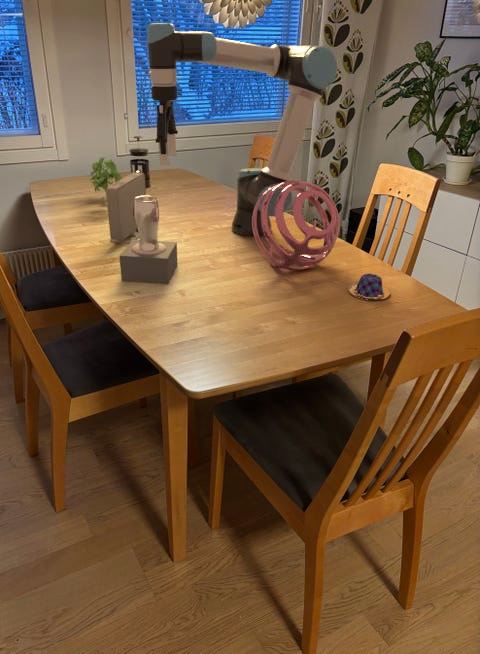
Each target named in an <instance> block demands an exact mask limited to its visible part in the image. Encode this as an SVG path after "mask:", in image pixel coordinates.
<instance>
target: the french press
mask: <svg viewBox="0 0 480 654" xmlns="http://www.w3.org/2000/svg"><path fill="white" fill-rule="evenodd" d="M133 139H136V141H137V147H138V148H131V149H129V150H128V151H129V152H130V156H131V157H138V158H134V159H130V160H129V164H130V174H132V173H133V172H134V173H144V175H145V189H147V188H150V187H151V177H150V160H149V159H147V158H140V157H146V156H148V154H149V149H147V148H140V144H139V141H140V139H143V136H140V135H138V136H133ZM133 166H134V167H133ZM138 166H139V167H138ZM133 168H134V171H133ZM139 168H141V169H139Z"/></svg>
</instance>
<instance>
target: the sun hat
mask: <svg viewBox="0 0 480 654" xmlns="http://www.w3.org/2000/svg"><path fill="white" fill-rule="evenodd" d="M355 285H357V287H356V289H355V291H357V293H358V294H360V295H363V296H365V297H378V295H382V294H383V288H382V287H383V279H382V277H381V276H379V275H377V274H374V273H373V274H372V273H364V274H363V275H362V276H360V278H359V280H358V282H357V283H353V284H351V285H350V286H349V287H348V292H349V293H350V294H351V295H352V296H354V297H357V296H355V295H354V294H353V293H351V291H350V289H351V288H352V286H355ZM357 293H356V294H357ZM383 295H384V294H383ZM363 296H362V297H363ZM360 297H361V296H360ZM360 297H357V298H358V299H362V300H364V299H363V298H364V297H363V298H360ZM378 298H379V297H378ZM368 299H369V298H368ZM368 299H366V301H367V300H368ZM368 301H369V300H368Z"/></svg>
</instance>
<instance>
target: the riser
mask: <svg viewBox="0 0 480 654" xmlns="http://www.w3.org/2000/svg"><path fill="white" fill-rule="evenodd" d="M131 240H132V239H131ZM131 240H130V241H131ZM158 243H159V250H157V251H155V252H142V251H140V250H139V239H137V240H132V241H131V242H130V243H129V244H128V245H127V246H126V247H125V248H124V249H123V251H122V252H121V253H120V254H119V265H120V266H119V267H120V276H121V282H131V283H143V284H145V283H147V284H161V285H162V284H163V285H169V283H170V281H171V279H172V278H173V276H174V274H175V271H177V268H178V245H177V244H178V243H177V241H166V240H165V241H162V240H158Z"/></svg>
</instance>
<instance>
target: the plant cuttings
mask: <svg viewBox="0 0 480 654" xmlns="http://www.w3.org/2000/svg"><path fill="white" fill-rule="evenodd" d="M91 166H92V172H90V176H92V177H91V178H90V179H89V181H90V182H91V183H92V184H93V187H94V191H95V194H96V193H97V192H101V190H102V189H103V191H104V192H105V193H106V189H107V187H108V186H109V185H112V184H114V183H113V179H114V181H115V182H117V181H119V180H121V179H123V177H122V176H121V174H120V172H118V171H119V170H117V165H116V163H115V162H114V161H113V159H110V160H105V157H104V156H100V157H99V160H98V161H96V162H94V163H92V165H91ZM109 170H110V172H109ZM101 203H102V204H103V205H105V204H107V197H106V196H105V197H104V196H103V197H102V199H101Z"/></svg>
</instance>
